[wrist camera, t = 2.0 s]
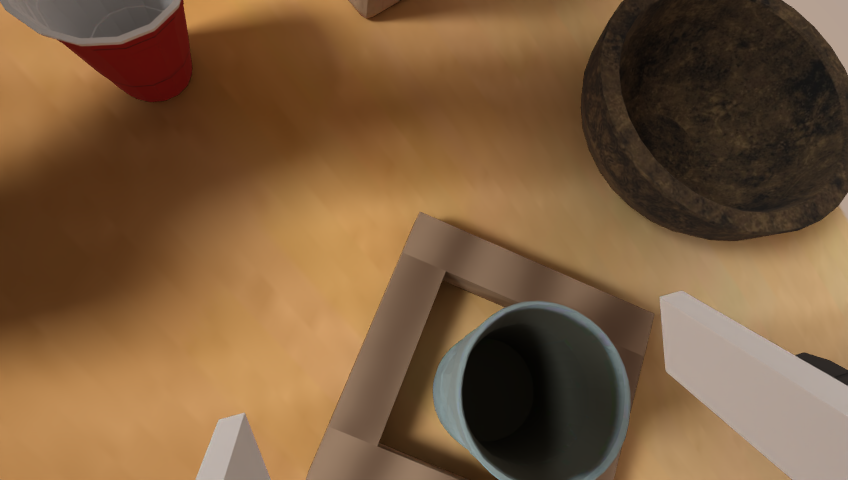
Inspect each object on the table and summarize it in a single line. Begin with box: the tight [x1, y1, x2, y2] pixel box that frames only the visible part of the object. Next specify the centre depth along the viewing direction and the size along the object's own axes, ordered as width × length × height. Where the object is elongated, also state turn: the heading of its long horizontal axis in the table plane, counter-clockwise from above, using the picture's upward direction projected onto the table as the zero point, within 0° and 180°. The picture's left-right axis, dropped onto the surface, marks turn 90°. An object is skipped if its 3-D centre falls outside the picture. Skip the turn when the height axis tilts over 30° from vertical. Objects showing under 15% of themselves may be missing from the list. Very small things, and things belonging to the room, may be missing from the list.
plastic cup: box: [0, 0, 192, 102], centre depth 35 cm, size 11×11×12 cm
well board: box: [306, 212, 655, 480], centre depth 37 cm, size 20×20×3 cm
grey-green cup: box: [433, 301, 631, 480], centre depth 33 cm, size 10×10×12 cm
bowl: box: [581, 0, 848, 241], centre depth 42 cm, size 22×22×10 cm
